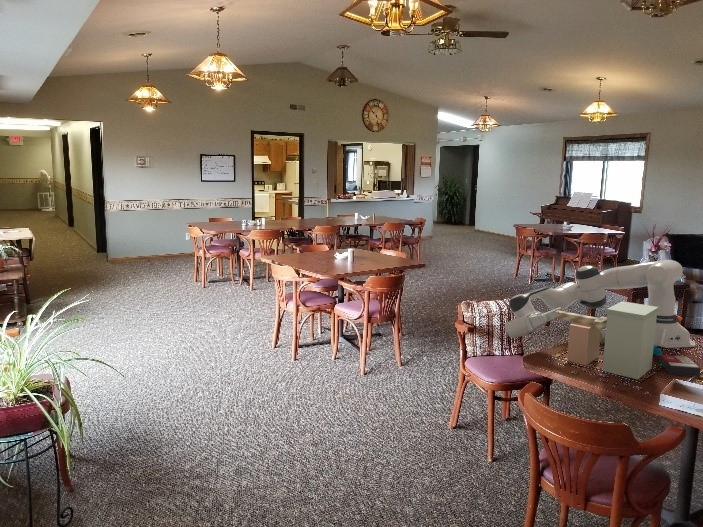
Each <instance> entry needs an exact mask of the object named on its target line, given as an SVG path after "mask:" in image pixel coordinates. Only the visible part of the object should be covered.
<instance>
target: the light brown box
mask: <svg viewBox="0 0 703 527" xmlns="http://www.w3.org/2000/svg"><path fill="white" fill-rule="evenodd" d="M600 332H601V329H596V328H593V326H592V325H587V324H582V323H577V322H572V323H570V324H569V329H568V343H567V344H568V345H567V357H566V361H567V362H570V363H571V362H572V363H576V364H580V365H582V366H587V365H589V364H590V363H591V362H593V361H595V360H596V359H598V358H599V355H600V354H599V353H600V352H599V351H600V344H601V343H600Z"/></svg>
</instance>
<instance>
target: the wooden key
mask: <svg viewBox="0 0 703 527" xmlns="http://www.w3.org/2000/svg"><path fill="white" fill-rule="evenodd" d="M557 311H558V310H557ZM555 312H556V311H555ZM559 313H560V314H559V315H558V316H555V317H554V319H558V320H562V321H568V322H572V323H574V322H577V323H582V324H587V325H592V326H593V328H596V329H604V328H606V323H607V316H600V317H595V316H591V315H590V316H589V315H586V314H585V315H584V314H579V313H574V312H569V311H566V312H564V311H559Z"/></svg>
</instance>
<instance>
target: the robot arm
mask: <svg viewBox="0 0 703 527" xmlns="http://www.w3.org/2000/svg"><path fill="white" fill-rule="evenodd" d="M683 271H684V270H683V266H682V265H681V263H679V262H678V261H676V260H673V259H665V260H664V259H663V260H656V261H651V262H645V263H638V264H631V265H624V266H615V267H611V268H608V269H604V270H602V269H600V268H598V267H596V266H594V265H583V266H581V267H579V268H577V270H576V271H575V279H576V281H577V283H576V282H572V281H569V282H566V283H562V284H560V285H557V286H556V287H555V288H552V287H550V286H542V287H540V288H536V289H532V290H531V291H528V292H525V293H520V294H516V295H514V296H512V297H511V298H510V299H509V302H508V307H509V308H510V310H511V312H512V313H513V315H514V317H515V318H512V319H511V320H509V321H508V322H506V323H505V324H504V329H505V332H506V335H508V337H510V338H512V339H515V338H520V337H524V336H526V335H531V334H533V333H535V332H539V331H541V330H543V329H545V328H546V326H547V322H550V321H552V320H554V319H555V318H554V317H555V316H558V315H559V314H560V313H559V311H564V312H569V311H570V310H569V307H570V306H571V305H573V304H574V303H575V302H578V301H579V304H580V305H582V306H585V307H586V308H589V309H599V308H602V307H604V306H605V305H606V303H607V295H606V292H605V291H606V290H625V289H626V290H627V289H634V288H635V289H636V288H638V289H639V288H643V287H647V293H648V300H647V301H648V302H647V305H649V306H655V307H659V308H658V312H657V318H656V328H655V338H654V345H656V346H657V347H661V348H666V349H667V348H668V349H671V348H672V349H673V348H694V347H696V343H695V342H694V341H693V340H691V336H690V332H689V331H688V330H687V329H686V328H685V327H684V326H682V325H681V324H680V323H679V322H682V320H683V317H682V316H680V315H677V314H675V309H676V308H675V307H676V296H675V289H674V283H675V282H677V281H679V280H680V279H681V277H682V275H683ZM537 298H538V299H540V300H541V301H542V302H543V303H544V304H545V305H546V306H547V307H548V308H549V309H551V310H549V311H546V312H542V311H539V310H536V308H535V307H534V305H533V304H532V300H536V299H537ZM557 310H558V311H557ZM555 311H556V312H555ZM678 321H679V322H678Z"/></svg>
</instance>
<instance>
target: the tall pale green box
mask: <svg viewBox="0 0 703 527" xmlns="http://www.w3.org/2000/svg"><path fill="white" fill-rule="evenodd" d="M658 308H659V307H655V306H649V305H648V304H641V303H637V302H636V303H635V302H629V301H623V300H622V301H620V302H617V303H615V304H613V305H612V306H610V307H608V308H606V317H607V323H606V327H605V330H606V335H605V343H604V350H603V361H602V362H603V363H602V371H603V372H606V373H611V374H614V375H618V376H623V377H626V378H631V379H634V380H635V379H636V380H640V378H642V377H643V376H644V375H645V374H646V373H647V372H649V371H650V370H652V367H653V358H654V357H653V355H654V354H653V348H654V338H655V328H656V318H657V312H658Z"/></svg>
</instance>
